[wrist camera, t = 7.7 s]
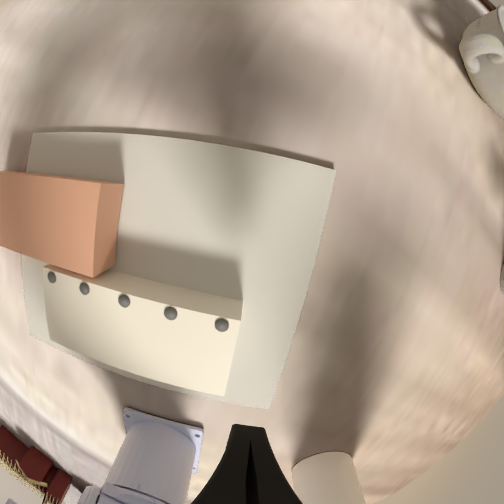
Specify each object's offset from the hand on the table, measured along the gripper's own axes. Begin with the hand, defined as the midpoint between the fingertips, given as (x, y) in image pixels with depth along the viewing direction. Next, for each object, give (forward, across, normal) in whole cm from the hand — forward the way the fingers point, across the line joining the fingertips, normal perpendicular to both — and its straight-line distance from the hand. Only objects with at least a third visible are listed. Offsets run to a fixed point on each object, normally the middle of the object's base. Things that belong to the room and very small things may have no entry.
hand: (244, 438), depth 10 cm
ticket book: (+9, +8, 0) cm, 12 cm away
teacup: (+10, -16, -27) cm, 33 cm away
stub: (+9, +17, -6) cm, 21 cm away
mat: (+9, +9, -3) cm, 13 cm away
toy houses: (+10, +34, +48) cm, 59 cm away
